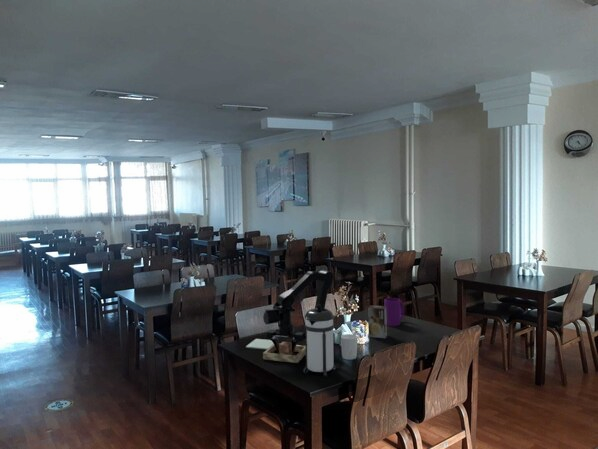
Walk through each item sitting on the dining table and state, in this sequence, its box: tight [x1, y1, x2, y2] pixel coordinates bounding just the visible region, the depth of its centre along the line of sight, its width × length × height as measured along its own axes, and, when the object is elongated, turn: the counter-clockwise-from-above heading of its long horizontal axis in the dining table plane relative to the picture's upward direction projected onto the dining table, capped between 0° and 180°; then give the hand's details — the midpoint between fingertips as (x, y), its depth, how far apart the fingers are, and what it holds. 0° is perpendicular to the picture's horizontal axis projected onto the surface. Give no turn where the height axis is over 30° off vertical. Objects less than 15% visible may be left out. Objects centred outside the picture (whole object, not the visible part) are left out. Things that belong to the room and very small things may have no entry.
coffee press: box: [302, 304, 337, 378], centre depth 208 cm, size 17×16×30 cm
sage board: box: [245, 338, 273, 351], centre depth 245 cm, size 13×13×1 cm
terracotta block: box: [278, 341, 293, 355], centre depth 228 cm, size 4×5×6 cm
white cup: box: [340, 333, 358, 361], centre depth 224 cm, size 8×8×10 cm
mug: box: [383, 297, 405, 327], centre depth 280 cm, size 9×16×15 cm, turn 134°
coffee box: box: [367, 305, 388, 339], centre depth 256 cm, size 9×6×16 cm
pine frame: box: [262, 342, 306, 364], centre depth 228 cm, size 17×15×3 cm
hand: (285, 352), depth 228 cm, fingers open, 7 cm apart
